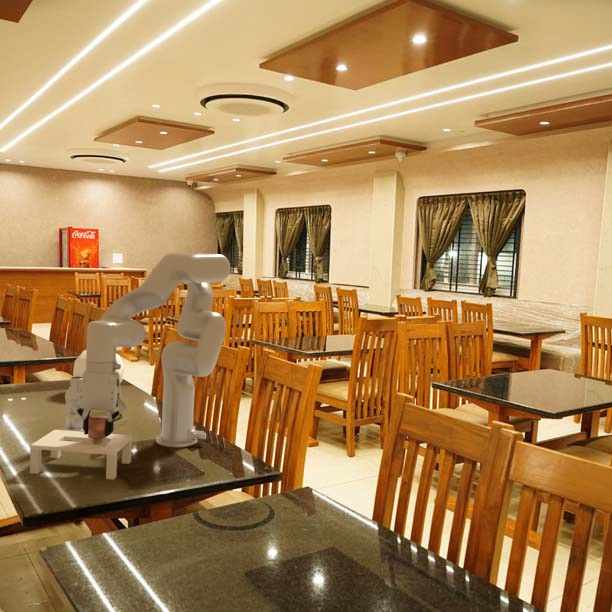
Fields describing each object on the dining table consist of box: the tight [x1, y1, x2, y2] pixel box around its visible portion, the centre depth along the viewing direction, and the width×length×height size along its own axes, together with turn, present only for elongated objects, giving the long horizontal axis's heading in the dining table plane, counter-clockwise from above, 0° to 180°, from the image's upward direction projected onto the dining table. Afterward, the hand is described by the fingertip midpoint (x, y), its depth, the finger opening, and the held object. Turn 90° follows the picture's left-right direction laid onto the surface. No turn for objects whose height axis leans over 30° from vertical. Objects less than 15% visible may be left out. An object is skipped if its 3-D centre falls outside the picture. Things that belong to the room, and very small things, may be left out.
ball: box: [72, 349, 125, 384], centre depth 244 cm, size 19×20×20 cm
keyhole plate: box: [29, 429, 133, 480], centre depth 164 cm, size 22×14×8 cm, turn 88°
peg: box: [88, 415, 107, 461], centre depth 163 cm, size 5×5×11 cm
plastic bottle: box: [63, 376, 85, 443], centre depth 182 cm, size 6×7×20 cm
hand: (98, 433), depth 163 cm, fingers closed on peg, 5 cm apart
